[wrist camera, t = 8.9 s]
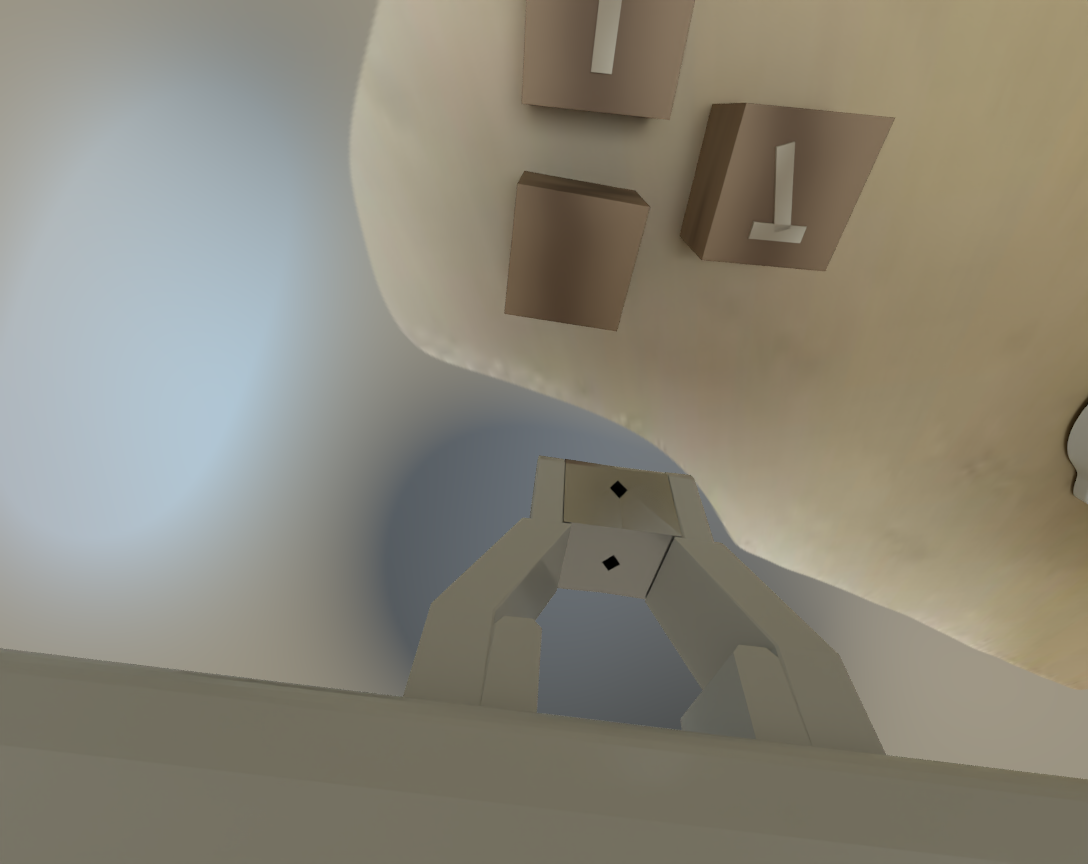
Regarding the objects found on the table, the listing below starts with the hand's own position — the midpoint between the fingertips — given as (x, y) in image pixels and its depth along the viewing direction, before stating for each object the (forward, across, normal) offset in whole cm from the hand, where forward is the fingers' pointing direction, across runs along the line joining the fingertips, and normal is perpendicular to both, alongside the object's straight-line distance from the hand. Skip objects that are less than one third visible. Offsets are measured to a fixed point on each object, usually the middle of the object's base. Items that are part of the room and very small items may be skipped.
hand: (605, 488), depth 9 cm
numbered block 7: (+21, -8, -4) cm, 23 cm away
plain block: (+20, +1, 0) cm, 20 cm away
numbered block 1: (+20, +1, -9) cm, 22 cm away
